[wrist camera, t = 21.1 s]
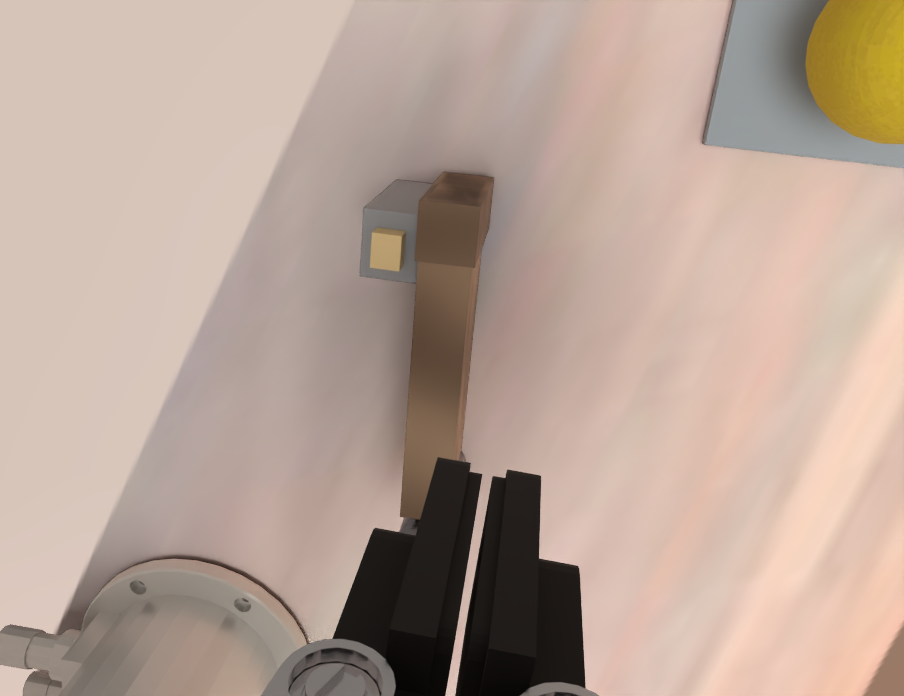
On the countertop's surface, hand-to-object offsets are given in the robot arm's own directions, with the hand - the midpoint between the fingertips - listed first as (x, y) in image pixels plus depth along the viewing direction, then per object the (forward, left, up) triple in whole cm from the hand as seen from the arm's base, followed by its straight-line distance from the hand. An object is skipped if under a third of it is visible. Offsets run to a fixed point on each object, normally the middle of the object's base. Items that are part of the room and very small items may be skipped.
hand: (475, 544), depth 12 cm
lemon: (+11, +8, -21) cm, 25 cm away
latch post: (-4, +1, -21) cm, 22 cm away
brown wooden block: (-2, -3, -20) cm, 21 cm away
